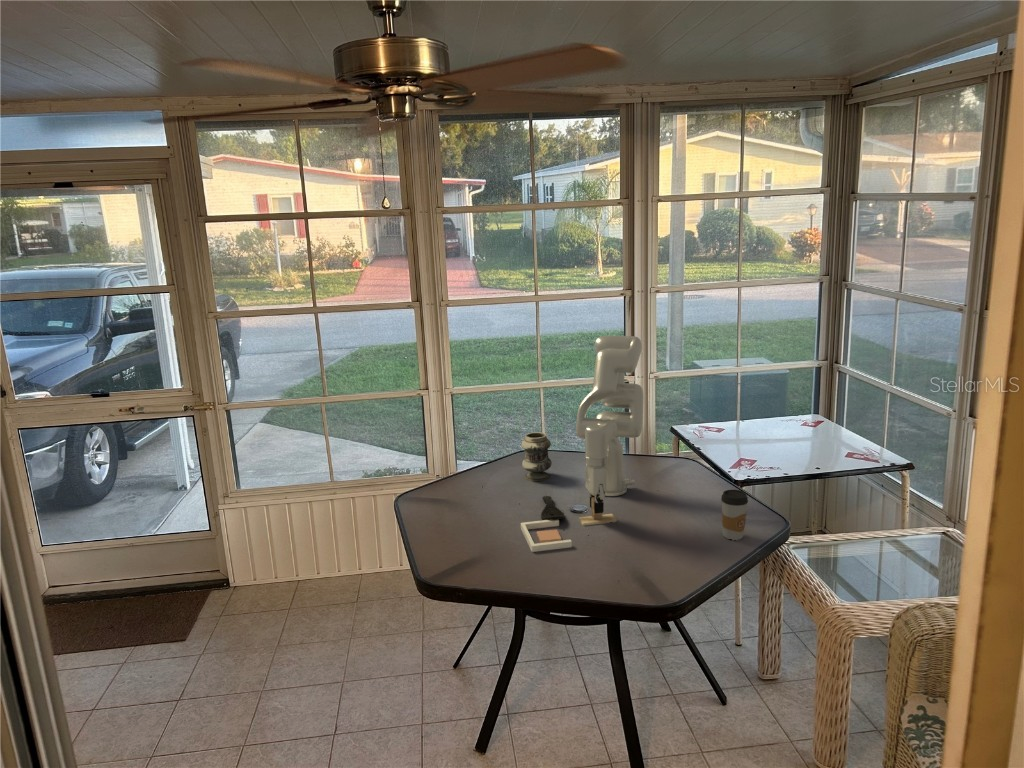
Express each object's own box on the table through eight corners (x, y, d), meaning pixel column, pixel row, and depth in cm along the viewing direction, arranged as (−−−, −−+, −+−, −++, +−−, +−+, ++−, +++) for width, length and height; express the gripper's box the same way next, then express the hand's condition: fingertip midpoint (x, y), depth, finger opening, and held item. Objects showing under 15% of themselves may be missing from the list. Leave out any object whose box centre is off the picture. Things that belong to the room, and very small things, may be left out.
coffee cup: (732, 544, 226) (734, 500, 223) (714, 534, 234) (715, 492, 230) (751, 538, 230) (754, 495, 226) (733, 528, 237) (734, 487, 234)
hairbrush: (556, 490, 268) (566, 513, 243) (556, 499, 268) (567, 523, 244) (534, 491, 267) (543, 515, 243) (535, 501, 268) (543, 525, 243)
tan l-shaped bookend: (579, 520, 248) (579, 498, 246) (611, 516, 251) (611, 495, 249) (583, 526, 244) (583, 504, 242) (616, 522, 246) (616, 500, 244)
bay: (557, 524, 246) (557, 518, 245) (571, 547, 228) (571, 541, 228) (520, 528, 243) (520, 522, 243) (531, 552, 226) (531, 546, 226)
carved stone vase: (537, 469, 298) (536, 428, 294) (558, 476, 290) (557, 434, 285) (516, 476, 290) (515, 435, 286) (537, 484, 282) (535, 441, 278)
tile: (557, 533, 240) (556, 529, 239) (561, 542, 233) (561, 538, 233) (536, 535, 239) (536, 531, 238) (540, 544, 232) (540, 540, 232)
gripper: (579, 453, 250) (579, 501, 255) (593, 470, 234) (593, 521, 238) (599, 451, 252) (599, 499, 256) (614, 467, 235) (614, 518, 240)
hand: (596, 509), depth 247 cm, fingers open, 4 cm apart
